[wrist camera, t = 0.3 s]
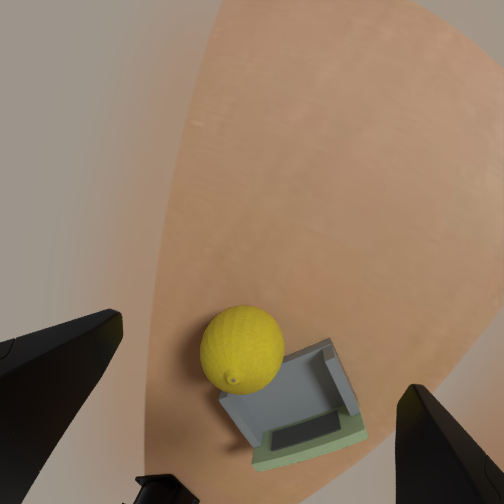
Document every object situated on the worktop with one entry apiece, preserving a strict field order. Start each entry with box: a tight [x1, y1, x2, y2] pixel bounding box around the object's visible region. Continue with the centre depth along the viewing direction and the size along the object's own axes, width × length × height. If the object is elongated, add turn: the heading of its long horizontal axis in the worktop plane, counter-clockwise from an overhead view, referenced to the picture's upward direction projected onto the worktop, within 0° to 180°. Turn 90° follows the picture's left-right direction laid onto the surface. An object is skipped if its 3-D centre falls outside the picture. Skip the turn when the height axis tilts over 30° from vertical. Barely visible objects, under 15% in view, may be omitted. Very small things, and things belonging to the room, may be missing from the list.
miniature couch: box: [218, 338, 369, 472], centre depth 22 cm, size 10×8×5 cm
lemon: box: [200, 305, 284, 395], centre depth 20 cm, size 6×6×8 cm
